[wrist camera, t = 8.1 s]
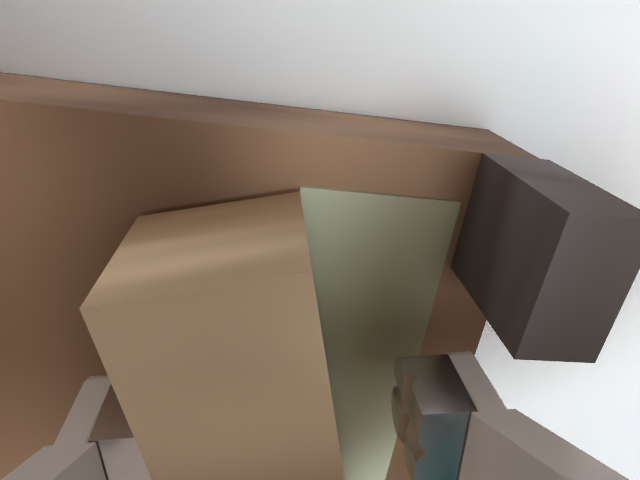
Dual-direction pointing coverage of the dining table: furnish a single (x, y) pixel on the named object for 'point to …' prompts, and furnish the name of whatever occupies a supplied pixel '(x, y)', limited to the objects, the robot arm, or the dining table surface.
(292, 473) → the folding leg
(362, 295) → the brown wooden box
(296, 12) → the dining table surface
